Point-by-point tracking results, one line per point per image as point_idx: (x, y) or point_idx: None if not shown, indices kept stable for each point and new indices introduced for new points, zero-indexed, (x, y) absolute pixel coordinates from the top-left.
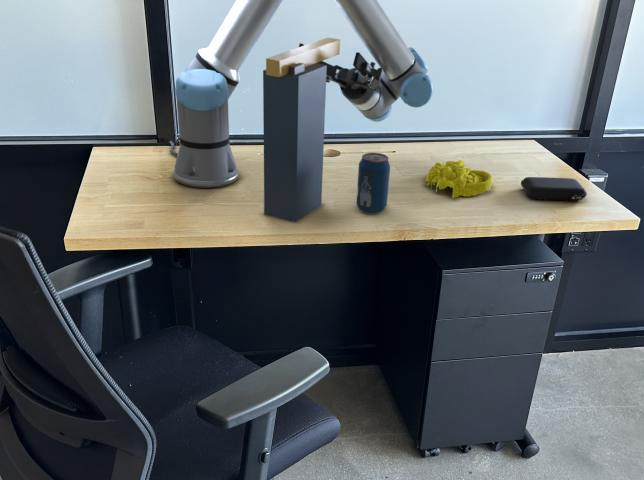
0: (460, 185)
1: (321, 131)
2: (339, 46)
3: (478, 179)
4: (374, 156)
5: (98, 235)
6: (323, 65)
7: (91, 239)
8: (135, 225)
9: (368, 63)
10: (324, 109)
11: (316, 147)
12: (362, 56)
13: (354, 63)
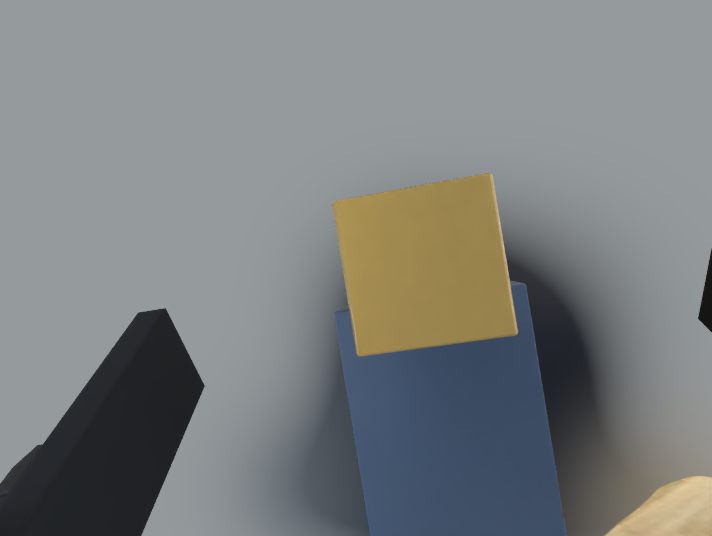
0: None
1: None
2: (345, 273)
3: None
4: None
5: (691, 491)
6: (345, 309)
7: (679, 482)
8: (703, 532)
9: (27, 458)
10: (367, 512)
11: None
12: (98, 369)
13: (190, 377)
